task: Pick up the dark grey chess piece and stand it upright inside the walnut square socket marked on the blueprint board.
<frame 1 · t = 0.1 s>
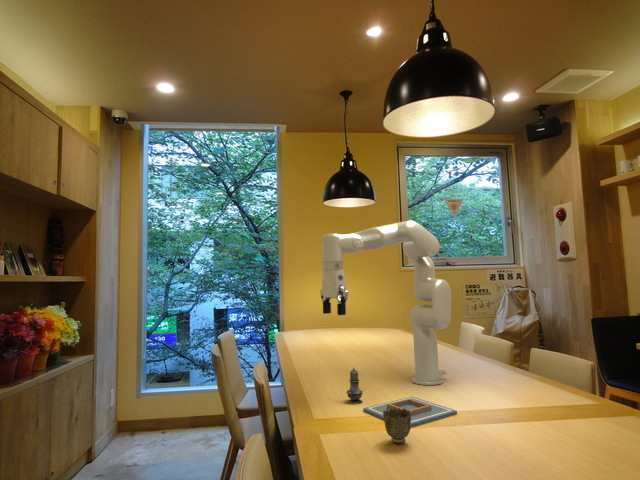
hand: (334, 314, 149), 31 cm above the table, tool pointing down, fingers open, 9 cm apart
cup: (398, 443, 109), on the table
dark grey chess piece: (355, 402, 146), on the table
blueprint board: (409, 412, 132), on the table
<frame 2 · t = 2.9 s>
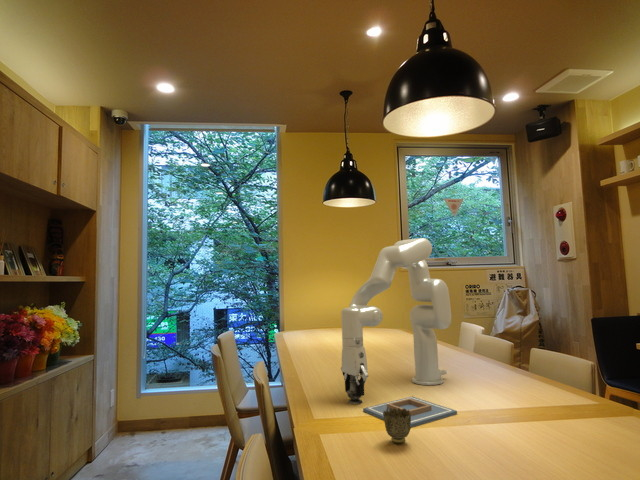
hand: (354, 393, 146), 3 cm above the table, tool pointing down, fingers closed on dark grey chess piece, 5 cm apart
dark grey chess piece: (355, 402, 146), on the table, touching gripper
everything else where it was.
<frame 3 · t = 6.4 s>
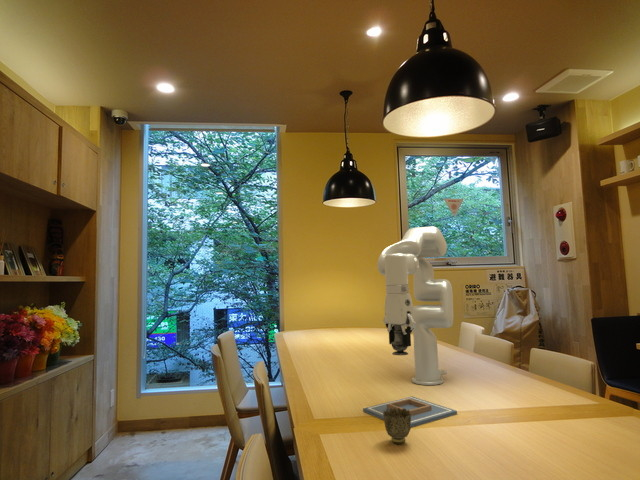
hand: (400, 344, 136), 21 cm above the table, tool pointing down, fingers closed on dark grey chess piece, 5 cm apart
dark grey chess piece: (400, 354, 135), point 18 cm above the table, touching gripper
everything else where it was.
when the fingers open (6 cm above the table, at t = 10.0 s): dark grey chess piece drops 2 cm, resting on blueprint board.
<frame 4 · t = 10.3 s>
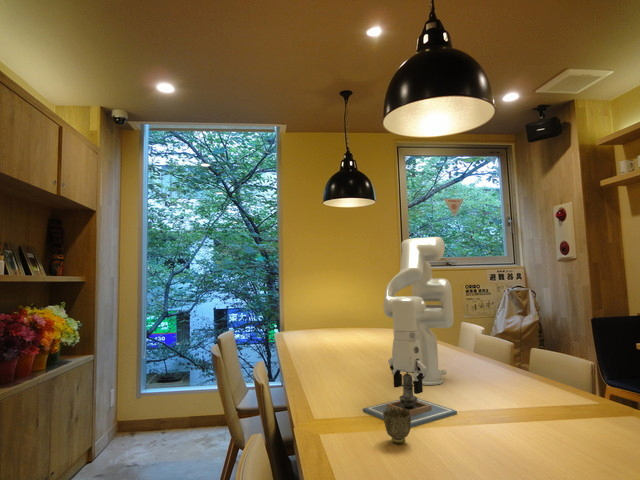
hand: (408, 389, 133), 7 cm above the table, tool pointing down, fingers open, 9 cm apart
dark grey chess piece: (408, 409, 133), point 1 cm above the table, touching blueprint board
everything else where it was.
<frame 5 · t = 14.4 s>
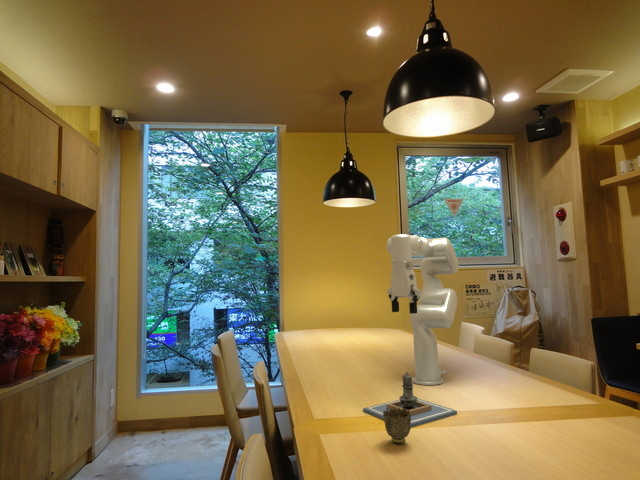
hand: (404, 312, 154), 30 cm above the table, tool pointing down, fingers open, 9 cm apart
nothing on the table moved.
at the end: dark grey chess piece 0.2 cm off-centre on the blueprint board, point 0.8 cm above the blueprint board's base; dark grey chess piece tilted 0°; the gripper is holding nothing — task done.
